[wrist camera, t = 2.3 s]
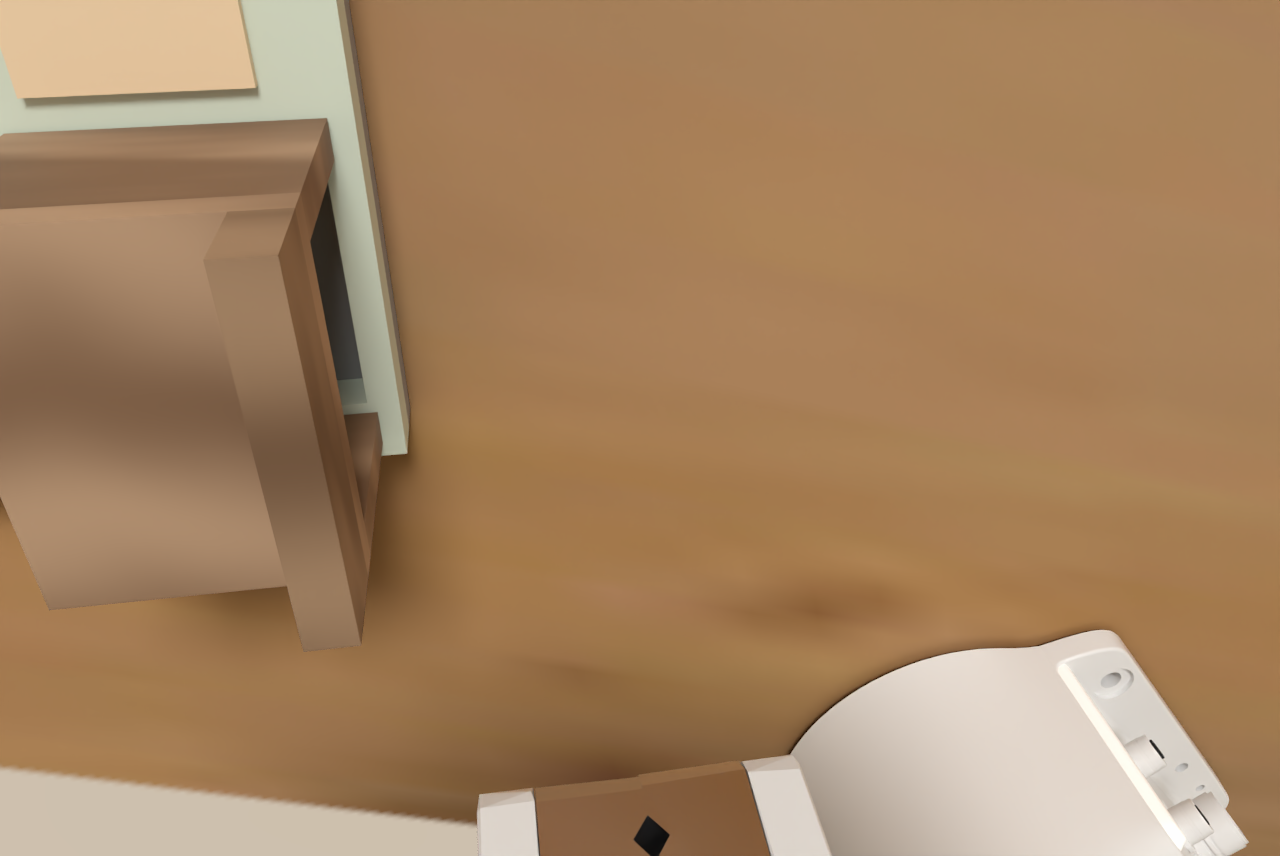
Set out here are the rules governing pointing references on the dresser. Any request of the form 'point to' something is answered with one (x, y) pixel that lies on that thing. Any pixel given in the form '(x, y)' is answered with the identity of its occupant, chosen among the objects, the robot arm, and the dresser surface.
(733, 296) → the dresser surface
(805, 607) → the dresser surface
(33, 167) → the brown wooden piece
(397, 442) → the board
